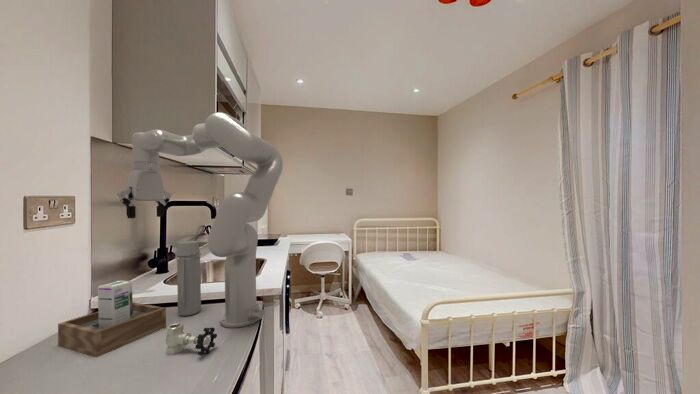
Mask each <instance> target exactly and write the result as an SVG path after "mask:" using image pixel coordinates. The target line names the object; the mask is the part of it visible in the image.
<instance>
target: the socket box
mask: <svg viewBox="0 0 700 394" xmlns="http://www.w3.org/2000/svg"><path fill="white" fill-rule="evenodd" d="M164 327H165V328H167V308H166V307H161V306H156V305H150V304H143V303H138V302H133V318H132V319H129V320H127V321H124V322H121V323H118V324H115V325H113V326H110V327H107V328H104V329H102V328H99V310H98V311H95V312H92V313H90V314H86V315H83V316H79V317H76V318H72V319H69V320H66V321H63V322H60V323H57V339H58V340H57V345H58V346H59V347H62V348H65V349H68V350H72V351H75V352H77V353H81V354H85V355H87V356H91V357H93V358H97V357H99V356H102V355H104V354H107V353H108V352H111V351H114V350H116V349H118V348H121V347H123V346H125V345H127V344H130V343H133V342H135V341H137V340H139V339H142V338H143V337H146V335H147V336H148V335H150V334H154V333H156V332H158V331H160V329H161V330H163V329H165V328H164ZM162 328H163V329H162ZM155 331H156V332H155ZM153 332H154V333H153Z"/></svg>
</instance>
